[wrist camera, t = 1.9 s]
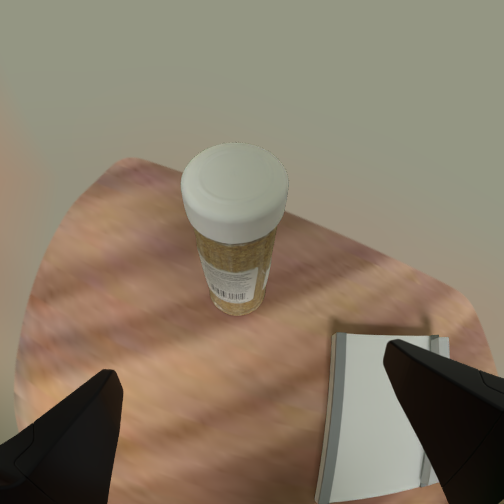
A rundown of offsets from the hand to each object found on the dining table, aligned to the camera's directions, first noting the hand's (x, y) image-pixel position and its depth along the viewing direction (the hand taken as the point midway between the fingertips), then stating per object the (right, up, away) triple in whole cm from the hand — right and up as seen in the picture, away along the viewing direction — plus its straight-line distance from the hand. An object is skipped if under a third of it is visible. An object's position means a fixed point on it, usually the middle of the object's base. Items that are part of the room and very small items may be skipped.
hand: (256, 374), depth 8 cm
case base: (+10, -10, +10) cm, 17 cm away
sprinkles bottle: (-1, +1, +15) cm, 15 cm away
